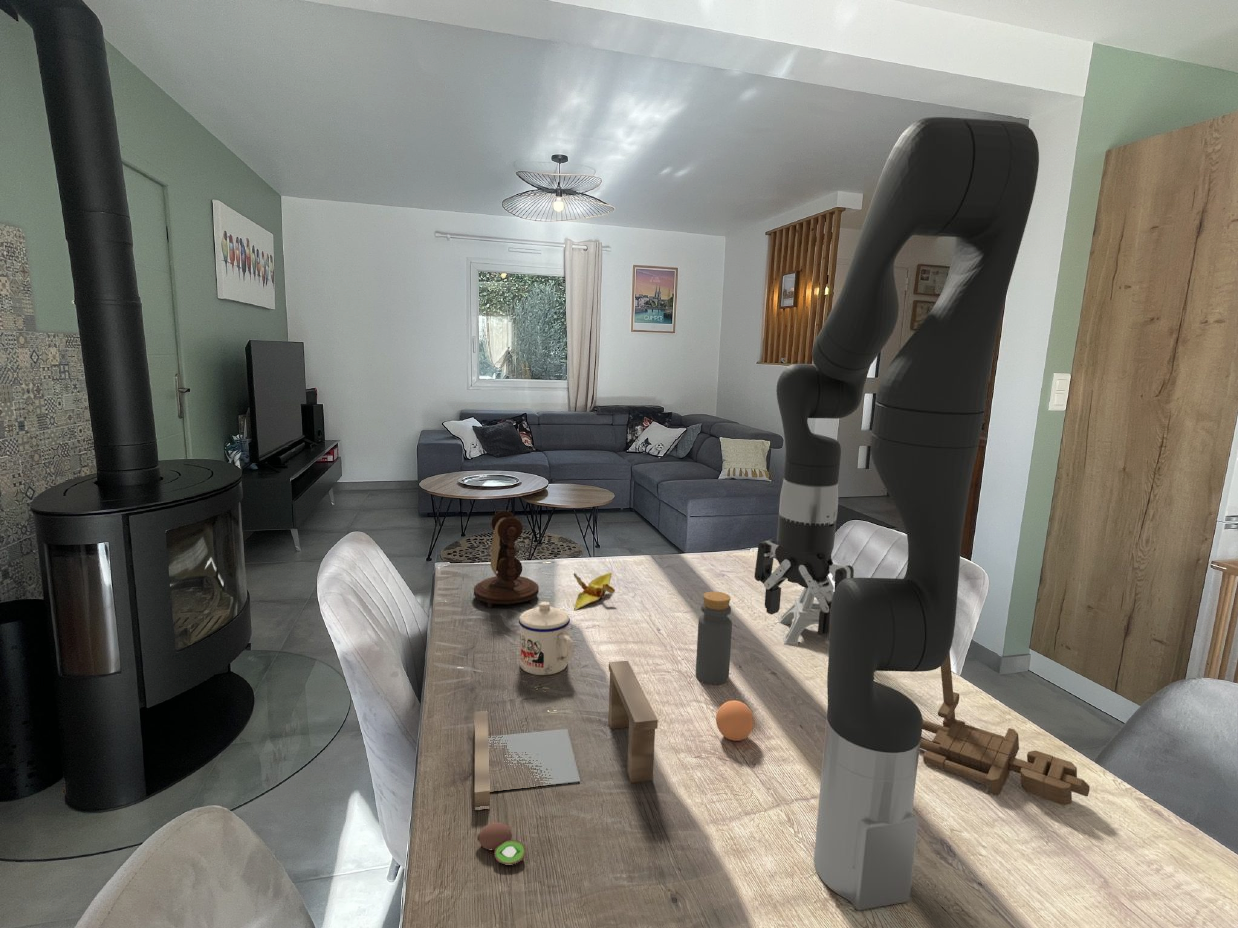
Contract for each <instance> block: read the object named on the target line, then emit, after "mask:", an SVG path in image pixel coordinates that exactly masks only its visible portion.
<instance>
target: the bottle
mask: <svg viewBox="0 0 1238 928" xmlns="http://www.w3.org/2000/svg"><path fill="white" fill-rule="evenodd" d="M702 598H703V602H702V604H701V609H700V610H701V612H702V613H703V614H702V615H701V616H699V618H698V625H697V637H696V639H697V642H696V658H695V659H696V661H695V677H696V679H697V680H698V681H700V682H702V683H704V684H709V685H716V686H717V685H723V684H725V683H727V682H728V680H729V678H730V676H729V675H730V667H731V665H730V663H731V649H732V648H731V647H732V630H733V621H732V619H731V618H730V617H728V616H729V615H731V613H732V607H731V606H730V601H731V596H730V595H729V594H728V593H726V592H722V591H707V592H705V593H703V595H702Z"/></svg>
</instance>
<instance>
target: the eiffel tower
mask: <svg viewBox="0 0 1238 928" xmlns="http://www.w3.org/2000/svg"><path fill="white" fill-rule="evenodd" d="M818 586H819V587H820V588H822V583H821V582H820V583H819V584H818ZM821 610H822V609H821V607H820V605H819V603H818V601H817V599H815V597H813V595H812V594H811V591H810V589H809V587H808V588H805V587H803V590H802V592H801V593H800V595H799V597H794V603H793V604H792V605H791V606H790V607H789V608H788V609H787V610H786V611H785V612H784V613H783V614H782V615H780V617H778V621H779V624H786V625H791V626H790V627H789V629H788V631H787V633H786V634H785V637H783V638H782V639H783V644H784V645H787V644H788V645H789V646H796V645H798V646H799V638H800V635H801V633H803V631H805V629H806V628H808V627H810V626H812V625H818V624H819V614H820V611H821Z"/></svg>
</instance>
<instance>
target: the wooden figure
mask: <svg viewBox="0 0 1238 928" xmlns="http://www.w3.org/2000/svg"><path fill="white" fill-rule="evenodd" d="M952 674H953V673H952V664H951V651H950V652H949V654H948V657H947V659H946V660H945V662H944V663H943V664H942V666H940V677H941V688H942V698H943V702H942V703H941V705H940V707H939V709H938V711H937V716H938V717H940V718H943V720H942V725H940V724H938V723H935V722H931V721H928V720H924V719H923V727H922V731H925V732H930V733H933V734H935V736H934V737H933V739H932V741H931V740H927V739H924V738H922V737H921V742H920V749H921V750H924V751H925V752H924V753H923V755H922V761H923V762H922V763H924V764H926V765H929V766H931V767H934V768H936V769H937V770H941V771H947V772H949V773H952V774H955V775H957V776H960V777H963V778H964V779H965V778H966V779H968V780H972V781H974V782H977V783H979V784H982V785H985V786H986V793H988V794H989V795H991V796H1000V795H1001V793H1002V791H1003V788H1004V786H1005V785H1006V782H1007V780H1008V778H1009V775H1010V773H1011V772H1014V773H1016V774H1018V775H1020V786H1021V788H1022V789H1023V791H1024V792H1025V793H1028V794H1030V795H1033V796H1035V797H1039V798H1041V799H1044V800H1047V801H1049V802H1052V803H1054V804H1058V805H1061V806H1067V805H1071V804H1072V801H1073V799H1072V798H1073V797H1072V795H1073V794H1072V793H1076V794H1078V795H1081V796H1084V797H1089V793H1090V791H1091V789H1090V785H1089V784H1088V783H1087V782H1086V781H1085V780H1084V779H1082V778H1079V777H1078V767H1077V766H1076V765H1075V764H1074V763H1073V762H1072V761H1070V760H1066V759H1063V758H1060V757H1056V756H1053V755H1051V754H1048V753H1045V752H1042V751H1039V750H1035V749H1034V750H1031V751H1028V752H1027V754H1026V760H1024V759H1020V758H1016V757H1017V755H1018V752H1019V750H1020V740H1019V739H1020V738H1019V737H1020V736H1019V733H1018V732H1017V731H1016V730H1015V729H1014V728H1012V727H1008V729H1007V731H1006V733H1005V735H1000V734H998V733H995V732H991V731H989V730H985V729H981V728H978V727H975V726H972V725H968V724H967V723H966V722H965V721H963V720H961V719H960V720H959V719H957V718H956V712H955V711H956V708H957V706H958V705H959V703H960V693H958V692H954V687H953V685H954V684H953V676H952Z"/></svg>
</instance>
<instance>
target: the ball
mask: <svg viewBox="0 0 1238 928" xmlns="http://www.w3.org/2000/svg"><path fill="white" fill-rule="evenodd" d="M715 723H716V727H717V730H718V731H719V733H720V734H721V735H722V736H723V737H725V738H726V739H727V740H730V741H734V742H735V741H736V742H737V741H742V740H744V739H746V738H748V737H749V736H750V735H751V733H752V731H753V729H754V724H755V720H754V715H753V712H752V710H751V709H750V707H748V705H746V704H745V703H743V702H742V701H739V700H734V699H733V700H727V701H726V702H724V703H723V704H721V706H719V708H718V710H717V711H716V716H715Z"/></svg>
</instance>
